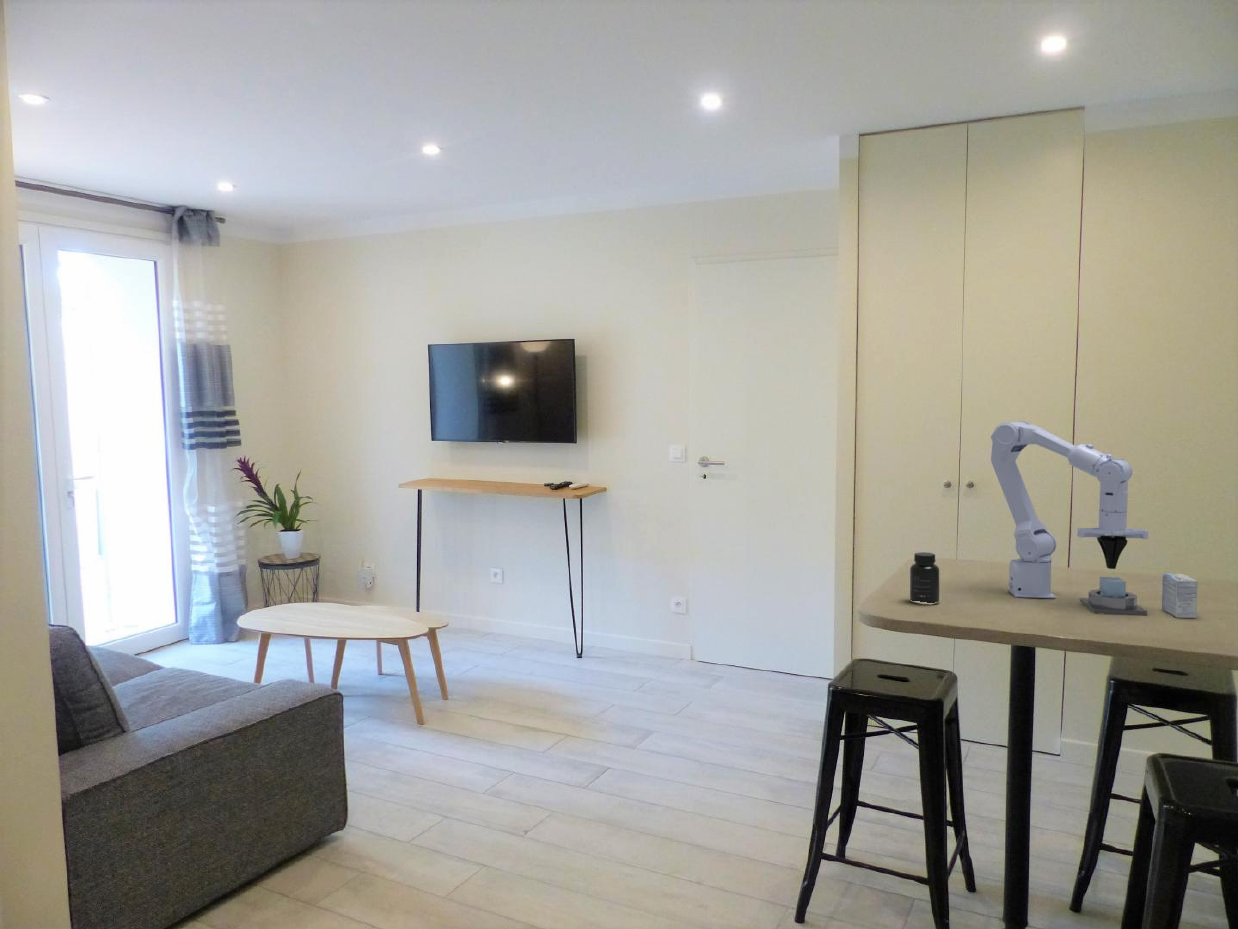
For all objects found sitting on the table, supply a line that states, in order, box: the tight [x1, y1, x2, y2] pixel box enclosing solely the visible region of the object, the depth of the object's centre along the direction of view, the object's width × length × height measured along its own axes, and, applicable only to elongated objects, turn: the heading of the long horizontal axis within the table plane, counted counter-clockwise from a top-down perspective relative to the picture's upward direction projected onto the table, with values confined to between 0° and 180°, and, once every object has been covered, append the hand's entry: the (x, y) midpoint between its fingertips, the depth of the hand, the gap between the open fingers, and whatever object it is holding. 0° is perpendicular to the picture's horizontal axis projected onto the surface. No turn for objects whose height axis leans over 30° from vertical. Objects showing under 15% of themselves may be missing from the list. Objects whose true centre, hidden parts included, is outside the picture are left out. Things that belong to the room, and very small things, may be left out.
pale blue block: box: [1098, 576, 1127, 597], centre depth 204 cm, size 5×5×6 cm
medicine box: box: [1161, 573, 1199, 619], centre depth 199 cm, size 8×4×9 cm, turn 168°
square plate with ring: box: [1078, 588, 1148, 616], centre depth 205 cm, size 11×11×4 cm
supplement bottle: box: [909, 551, 940, 603], centre depth 213 cm, size 7×7×12 cm
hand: (1111, 568), depth 205 cm, fingers closed
